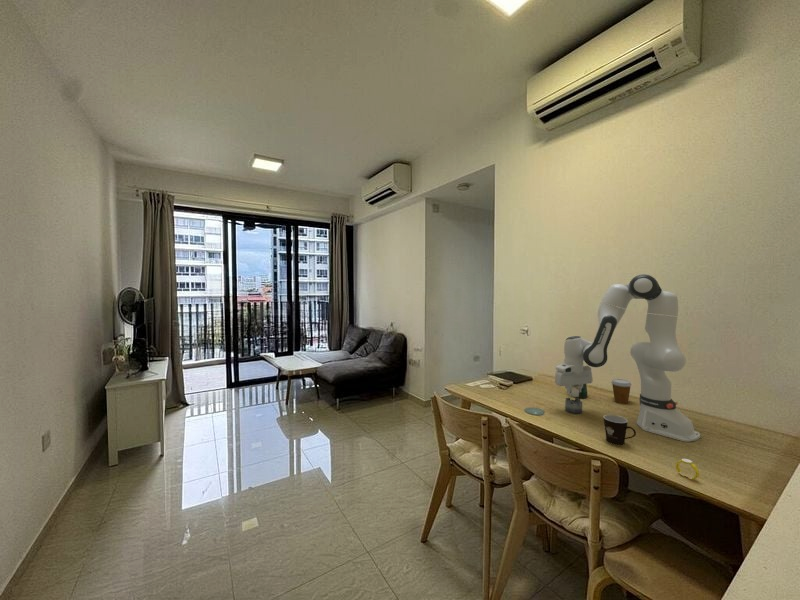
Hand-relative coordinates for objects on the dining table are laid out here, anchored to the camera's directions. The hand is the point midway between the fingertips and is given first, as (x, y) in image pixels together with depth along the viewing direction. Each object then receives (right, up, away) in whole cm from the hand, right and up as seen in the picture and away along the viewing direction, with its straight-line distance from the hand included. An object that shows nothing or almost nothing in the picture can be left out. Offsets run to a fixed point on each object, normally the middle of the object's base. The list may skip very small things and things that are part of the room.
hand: (574, 392), depth 168 cm
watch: (+7, -13, -58) cm, 60 cm away
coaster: (-20, -11, +2) cm, 23 cm away
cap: (0, -2, 0) cm, 2 cm away
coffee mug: (0, -12, -34) cm, 36 cm away
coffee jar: (+15, -9, +24) cm, 30 cm away
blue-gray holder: (0, -10, +1) cm, 10 cm away
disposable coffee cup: (+34, -9, +13) cm, 38 cm away
